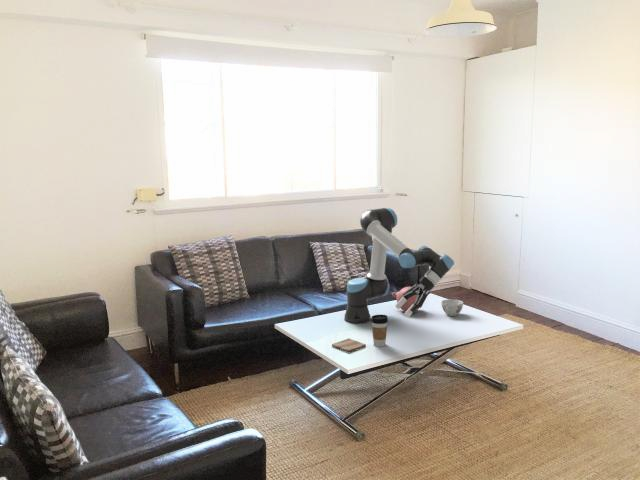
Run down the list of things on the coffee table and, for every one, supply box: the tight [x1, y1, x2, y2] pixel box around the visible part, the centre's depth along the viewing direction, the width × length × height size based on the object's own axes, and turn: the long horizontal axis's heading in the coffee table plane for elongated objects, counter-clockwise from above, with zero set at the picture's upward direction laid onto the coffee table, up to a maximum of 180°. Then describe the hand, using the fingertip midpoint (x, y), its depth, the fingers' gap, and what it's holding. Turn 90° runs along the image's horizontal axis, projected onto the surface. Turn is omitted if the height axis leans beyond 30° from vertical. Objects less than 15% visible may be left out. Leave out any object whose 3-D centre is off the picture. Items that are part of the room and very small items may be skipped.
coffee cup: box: [370, 314, 389, 348], centre depth 271 cm, size 8×8×15 cm
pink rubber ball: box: [391, 286, 420, 313], centre depth 324 cm, size 15×20×15 cm
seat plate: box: [331, 337, 366, 353], centre depth 270 cm, size 12×12×1 cm
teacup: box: [440, 299, 464, 317], centre depth 315 cm, size 15×12×8 cm
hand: (401, 311), depth 271 cm, fingers open, 13 cm apart
